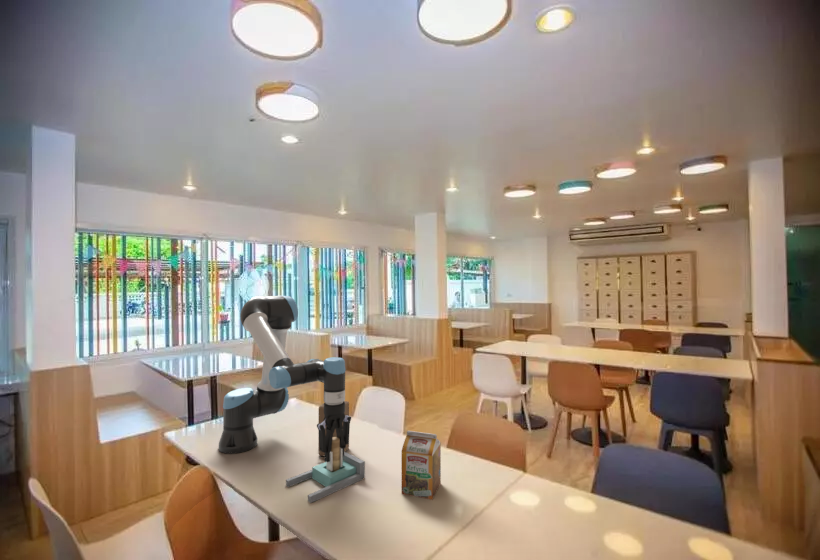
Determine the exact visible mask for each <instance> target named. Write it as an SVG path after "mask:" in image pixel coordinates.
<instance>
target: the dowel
mask: <svg viewBox="0 0 820 560" xmlns="http://www.w3.org/2000/svg"><path fill="white" fill-rule="evenodd" d="M331 452H333V471H330V472H335V471H337V470H340V438H338V437H333V438H332V445H331Z"/></svg>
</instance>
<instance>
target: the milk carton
mask: <svg viewBox="0 0 820 560" xmlns="http://www.w3.org/2000/svg"><path fill="white" fill-rule="evenodd" d="M437 436H438V435H437V433H429V432H421V431H414V430H407V431H406V436H405V439H404V441H403V445H402V449H401V495H405V496H411V497H416V498H417V497H418V498H422V499H427V500H432V501H433V499H434V498H435V496H436V493H437V491H439V490H438V489H439V488H440V486H441V483H442V482H441V481H442V480H441V479H442V478H441V476H442V475H441V472H442V471H441V461H442V460H441V458H442V457H441V456H442V455H441V447H442V446H441V443H442V442H441V441H440V439H438V437H437Z"/></svg>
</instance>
